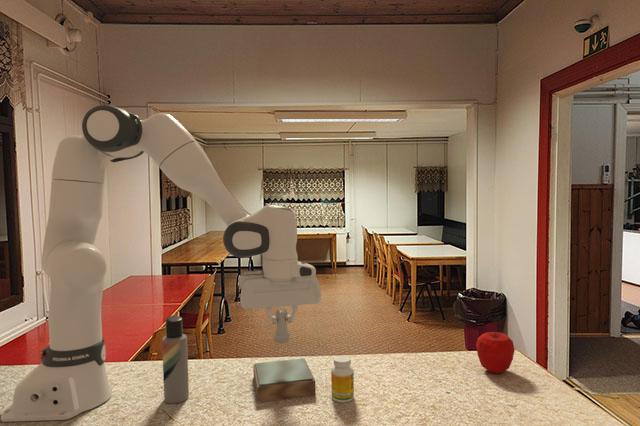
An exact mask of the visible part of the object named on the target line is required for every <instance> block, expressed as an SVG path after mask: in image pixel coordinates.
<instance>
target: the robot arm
mask: <svg viewBox="0 0 640 426" xmlns="http://www.w3.org/2000/svg"><path fill="white" fill-rule="evenodd" d="M81 129H82V133H83V135H78V134H75V135H70V136H67V137H64V138H63V139H61V141H59V143H58V145H57V149H56V152H55V157H54V161H53V166H52V172H51V181H50V182H51V183H50V194H49V209H48V217H47V224H46V229H45V233H44V240H43V245H42V252H41V253H42V255H41V267H42V270H43V272H44V274H45V275H46V276H47V277H48V278H49V282H50V285H49V286H50V293H49V307H48V314H47V316H48V317H47V319H48V321H47V323H48V338H49V339H48V340H49V341H48V343H47V344H45V346H44V348H43V349H42V350H40V353H39V354H38V355H37V356H38V360H39V361H40V360H41V363H39V364H38V365H37V366H36V367H35V368H34V369H32V370H31V371H29V373H28V374H26V375H25V376H24V377H23V378H22V379H21V380H20V381H19V382H18V384H17V385H16V387H15V389H14V392H13V396H12V400H10V401H9V402H7V403H6V405H5V406H4V408H3V409H2V411H1V414H0V420H1V422H37V421H41V422H42V421H65V420H70V419H72V418H75V417H76V416H78V415H79V414H81V413H83V412H87V411H89V410H92V409H94V408H96V407H98V406H101V405H102V404H104V403H106V402H107V401H108V400H109V399H110V398H111V397H112V395H113V390H112V388H111V385H110V383H109V379H108V375H107V371H106V370H107V369H106V365H105V364H106V363H105V361H106V344H105V338H104V337H103V326H102V324H103V323H102V303H103V302H102V300H103V293H104V286H105V275H106V272H107V262H106V259H105V257H104V254H103V253H102V252H101V250H100V249H99V248H98V247H97V246H95V242H96V238H97V237H96V236H97V233H98V229H99V224H100V222H101V219H102V217H103V206H104V193H105V176H106V170H107V169H106V168H107V166H108V164H109V162H112V163H118V162H121V161H126V160H128V161H129V160H132V159H135V158H138V157H140V156H142V155H143V154H144V153H145V154H147V155H148V156H149V157H150V158H151V159H152V160H153V161H154V162H155V164H156V165H157V167H159V169H160V170H161V171H162V172H163V174H164V175H165V176H166V177H167V178H168V179H169V180H170V181H171V182H172V183H174V185H176V186H177V187H178V188H179V189H181V190H184V191H186V192H189V193H191V194H193V195H195V196H198V197H200V198H201V199H202V200H203V201H205V202H206V203H207V204H208V205H209V206H210V207H211V209H212V210H213V211H214V212H215V213H216V214H217V216H219V218H220V219H221V220H222V222H223V223H224V224H225V225H226V229H225V230H224V233H223V236H222V240H223V241H222V242H223V246H224V248H225V250H226V251H227V252H228V254H229V255H231V256H233V257H236V258H239V259H248V258H251V257H254V256H259V255H261V256H262V257H261V258H262V269H259V270H258V269H257V270H246V271H244V272H242V273H241V274H240V275H239V276H238V286H239V288H240V289H241V290H240V306H241V307H242V308H243V309H244V310H254V309H264V310H265V313H266V315H267V316H268V318H269V325H277V320H276V319H277V316H276V315H273V314H271V312H272V308H276V307H277V308H278V307H279V308H280V307H291V311H290V313H288V314H287V315H286V318H287V320H286V323H287V324H293V323H294V316H295V315H296V313H297V311H298V309H299V307H298V306H303V305H317V304H320V302H321V300H322V293H321V285H320V281H319V279H318V278H317V276H316V274H317V270H316V267H315V266H314V265H312V264H309V263H307V262H303V261H299V259H298V257H299V256H298V252H297V242H298V228H297V227H298V226H297V219H296V214H295V213H294V211H293V210H292V209H291V208H289V207H287V206H282V205H277V204H266V205H265V204H264V205H263V207H262V208H261V209H259V210H257V211H256V212H253V213H250V212H248V211H247V210H245V208H244V207H243V206H242V204H240V203H239V202H238V200H237V199H236V198H235V197H234V195H233V194H232V193H231V192H230V190H229V189H228V188H227V187H226V186H225V184H224V183H223V182H222V180H221V178H220V176H219V175H218V173H217V171H216V169H215V168H214V166H213V163H212V162H211V160H210V158H209V156H208V155H207V154H206V152H205V151H204V149H203V147H201V145H200V143H199V142H198V141H197V140H196V139H195V137H194V136H193V135H192V134H191V133H190V132H189V131H188V130H187V129H186V128H185V126H183V125H182V123H180V122H179V121H178V120H177V119H176V118H174V117H173V116H172V115H171V114H169V113H166V112H160V113H159V112H158V113H155V114H153V115H150V116H149V117H147V118H146V119H140V117H139V116H138V115H137V114H136V113H135V114H134V113H132V112H130V111H127V110H125V109H123V108H120V107H117V106H115V105H109V104H102V105H98V106H94V107H92V108H91V109H89V110H88V111H87V112H86V113H85V115H84V116H83V118H82V122H81Z"/></svg>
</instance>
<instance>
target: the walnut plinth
mask: <svg viewBox="0 0 640 426" xmlns="http://www.w3.org/2000/svg"><path fill="white" fill-rule="evenodd" d="M252 366H253V381H254V388H255V392H256V399H257V403H263V402H270V401H279V400H285V399H286V400H287V399H295V398H301V397H311V396H316V395H317V394H316V393H317V392H316V390H317V389H316V379H315V377H314V375H313V373H312V370H311V368H310V367H309V365H308V362H307V361H306V359H305V358H294V359H284V360H273V361H265V362H264V361H263V362H255V364H253V365H252Z"/></svg>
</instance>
